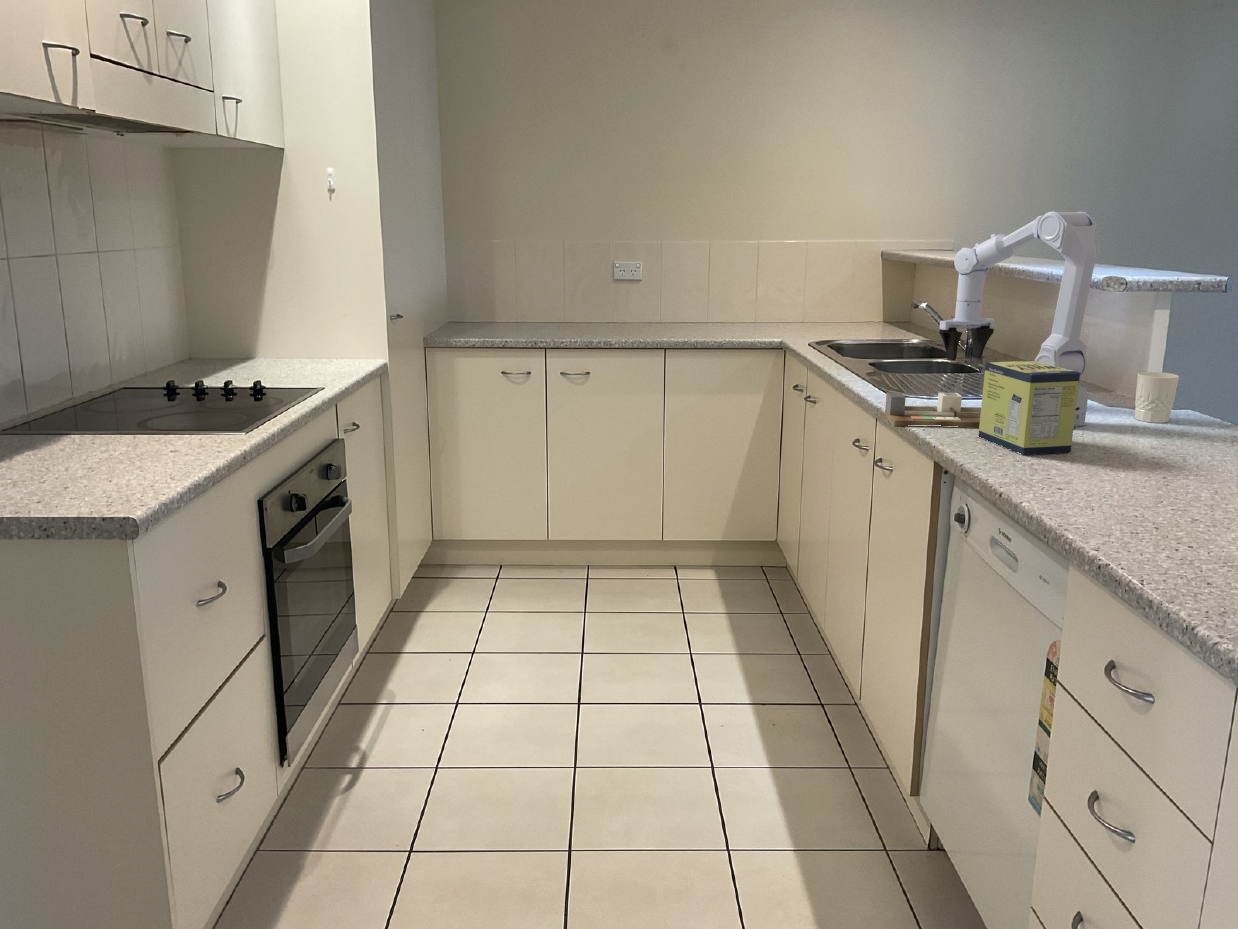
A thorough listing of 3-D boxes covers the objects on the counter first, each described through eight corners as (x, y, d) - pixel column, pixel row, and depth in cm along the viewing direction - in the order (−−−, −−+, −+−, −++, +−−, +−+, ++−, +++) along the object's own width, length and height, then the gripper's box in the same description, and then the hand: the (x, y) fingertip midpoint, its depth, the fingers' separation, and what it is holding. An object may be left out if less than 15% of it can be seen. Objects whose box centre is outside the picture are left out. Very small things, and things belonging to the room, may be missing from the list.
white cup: (1133, 422, 210) (1140, 376, 208) (1129, 414, 217) (1135, 370, 215) (1175, 425, 208) (1182, 378, 205) (1168, 417, 215) (1175, 372, 212)
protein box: (1022, 434, 198) (1031, 359, 194) (1072, 453, 184) (1082, 372, 180) (976, 437, 196) (984, 360, 192) (1022, 456, 181) (1032, 373, 177)
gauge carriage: (955, 410, 213) (957, 392, 212) (964, 418, 206) (966, 399, 205) (936, 410, 214) (938, 391, 213) (945, 418, 206) (947, 398, 205)
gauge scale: (957, 418, 208) (958, 416, 208) (961, 420, 205) (961, 419, 205) (910, 417, 208) (910, 415, 208) (912, 419, 206) (912, 418, 206)
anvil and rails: (982, 411, 214) (983, 393, 213) (989, 417, 208) (991, 399, 207) (885, 409, 216) (886, 392, 215) (890, 415, 210) (891, 397, 209)
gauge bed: (986, 417, 214) (986, 411, 214) (1000, 428, 204) (1001, 422, 203) (884, 415, 216) (885, 409, 216) (894, 426, 205) (894, 420, 205)
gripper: (981, 298, 232) (975, 354, 236) (932, 300, 227) (927, 358, 230) (1003, 300, 226) (997, 358, 230) (953, 303, 221) (948, 362, 224)
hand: (963, 358), depth 230 cm, fingers open, 7 cm apart
